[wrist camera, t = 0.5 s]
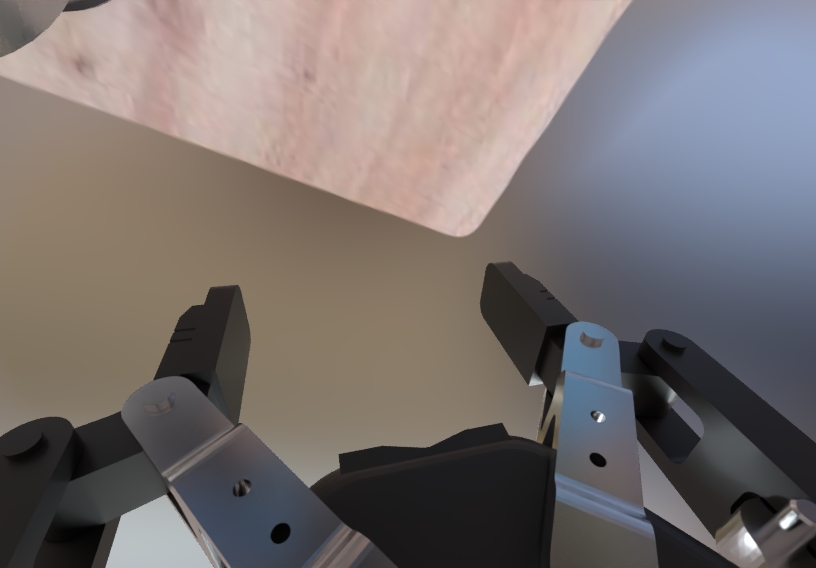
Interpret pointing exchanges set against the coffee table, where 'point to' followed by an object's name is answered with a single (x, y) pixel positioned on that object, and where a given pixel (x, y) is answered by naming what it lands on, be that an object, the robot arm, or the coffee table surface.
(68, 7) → the cooker pot
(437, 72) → the coffee table surface
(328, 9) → the coffee table surface
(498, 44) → the coffee table surface
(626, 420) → the robot arm
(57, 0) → the cooker lid
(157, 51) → the coffee table surface
